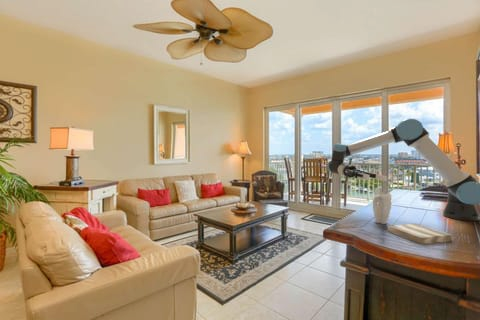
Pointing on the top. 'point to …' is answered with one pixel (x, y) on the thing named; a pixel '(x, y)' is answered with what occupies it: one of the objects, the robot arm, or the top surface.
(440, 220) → the top surface
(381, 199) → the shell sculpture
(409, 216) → the top surface
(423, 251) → the top surface
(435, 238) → the striped wooden trivet
